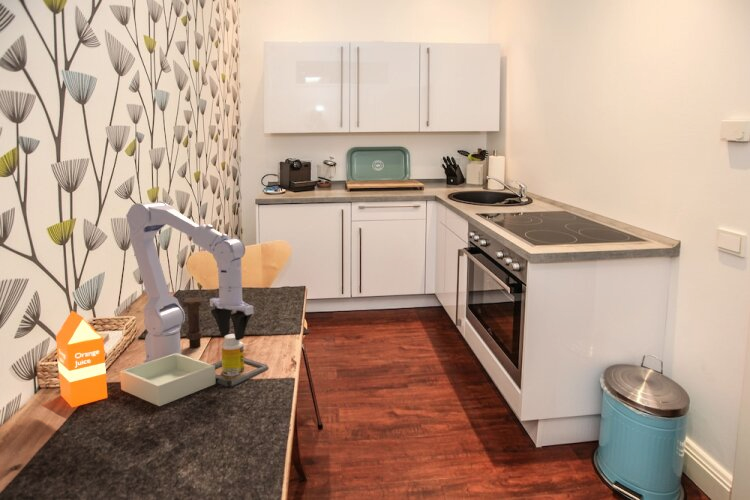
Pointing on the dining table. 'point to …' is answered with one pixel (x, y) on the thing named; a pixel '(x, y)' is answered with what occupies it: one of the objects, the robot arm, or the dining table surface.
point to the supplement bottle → (232, 356)
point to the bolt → (193, 321)
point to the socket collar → (240, 378)
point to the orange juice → (81, 362)
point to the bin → (167, 378)
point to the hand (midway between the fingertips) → (232, 337)
